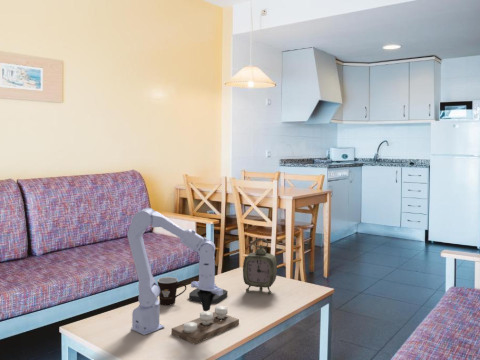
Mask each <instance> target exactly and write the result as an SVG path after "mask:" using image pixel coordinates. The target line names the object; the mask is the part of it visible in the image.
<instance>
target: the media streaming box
mask: <svg viewBox="0 0 480 360" xmlns="http://www.w3.org/2000/svg"><path fill="white" fill-rule="evenodd" d="M219 288H220V289H223V295H220V296H218V295H217V294H215V296H214V298H213V300H212V303H211V305H215V304H218V303H220V302H221V301H223V300H225V299H227V297H228V290H226V289H224V288H221V287H219ZM198 291H200V289H198V288H195V289H193V290H191V291H190V292H189V294H188V297H189V298H188V299H189V300H190V301H193V302H198V303H201V300H200V298H199V296H198V294H197V292H198Z"/></svg>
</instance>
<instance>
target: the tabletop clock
mask: <svg viewBox="0 0 480 360" xmlns="http://www.w3.org/2000/svg"><path fill="white" fill-rule="evenodd" d="M258 241H264V242H266V245H265V246H263V245H262V244H260V245H256V242H258ZM253 246H255V247H256V250H255V252H250V253H249V254H247V255H246V256H245V257H244V260H243V265H242V277H243V278H242V279H243V282H244V284H245V285H247V286H248V287H247V288H246V289H245V292H248V293H249V291H250V288H251V287H255V288H259V289H258V290H259V291H263V288H265V289H266V288H267V290H268V292H267V295H272V291H271V290H270V289H271V286H273V284H274V283H275V281H276V279H277V273H278V263H277V258H276V255H274V254H272V253H268V252H267V251H266V250H265V249H264V248H267V247H268V246H269V242H268V240H266V239H264V238H256V239H254V240H253Z"/></svg>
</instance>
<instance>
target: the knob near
mask: <svg viewBox="0 0 480 360" xmlns="http://www.w3.org/2000/svg"><path fill="white" fill-rule="evenodd" d="M183 324H184V328H183V331H184V332H186V333H194V332H196V331H197V324H196V323H194V322H190V321H188V322H185V323H183Z"/></svg>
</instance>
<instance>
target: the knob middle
mask: <svg viewBox="0 0 480 360" xmlns="http://www.w3.org/2000/svg"><path fill="white" fill-rule="evenodd" d="M199 318H200V320H201V321H202V324H203V325H210V321H212V320H213V312H212V311H210V310H208V311H201V312H200V313H199Z"/></svg>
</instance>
